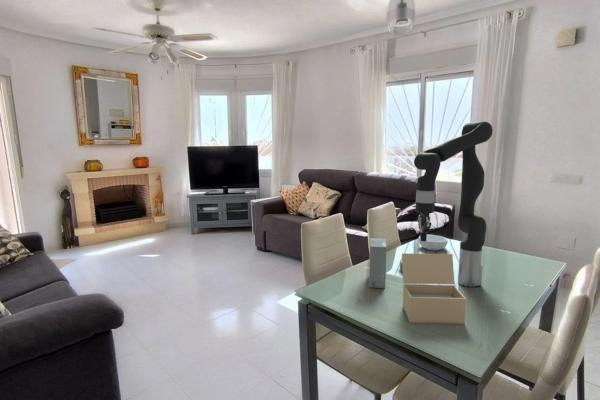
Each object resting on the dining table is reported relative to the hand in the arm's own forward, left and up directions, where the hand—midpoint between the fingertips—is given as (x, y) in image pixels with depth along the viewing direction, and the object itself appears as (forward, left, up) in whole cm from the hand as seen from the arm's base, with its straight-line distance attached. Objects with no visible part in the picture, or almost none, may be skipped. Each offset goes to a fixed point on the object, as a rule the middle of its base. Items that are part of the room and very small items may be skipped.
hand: (423, 240), depth 146 cm
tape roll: (-5, -31, -26) cm, 41 cm away
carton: (0, +17, -25) cm, 30 cm away
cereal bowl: (-25, -69, -26) cm, 78 cm away
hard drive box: (+17, -15, -25) cm, 34 cm away
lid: (0, +9, -9) cm, 13 cm away
